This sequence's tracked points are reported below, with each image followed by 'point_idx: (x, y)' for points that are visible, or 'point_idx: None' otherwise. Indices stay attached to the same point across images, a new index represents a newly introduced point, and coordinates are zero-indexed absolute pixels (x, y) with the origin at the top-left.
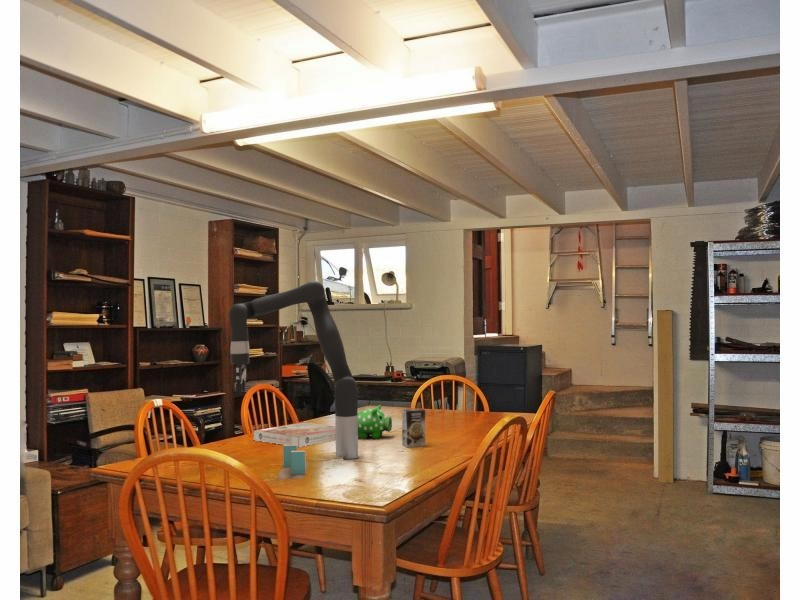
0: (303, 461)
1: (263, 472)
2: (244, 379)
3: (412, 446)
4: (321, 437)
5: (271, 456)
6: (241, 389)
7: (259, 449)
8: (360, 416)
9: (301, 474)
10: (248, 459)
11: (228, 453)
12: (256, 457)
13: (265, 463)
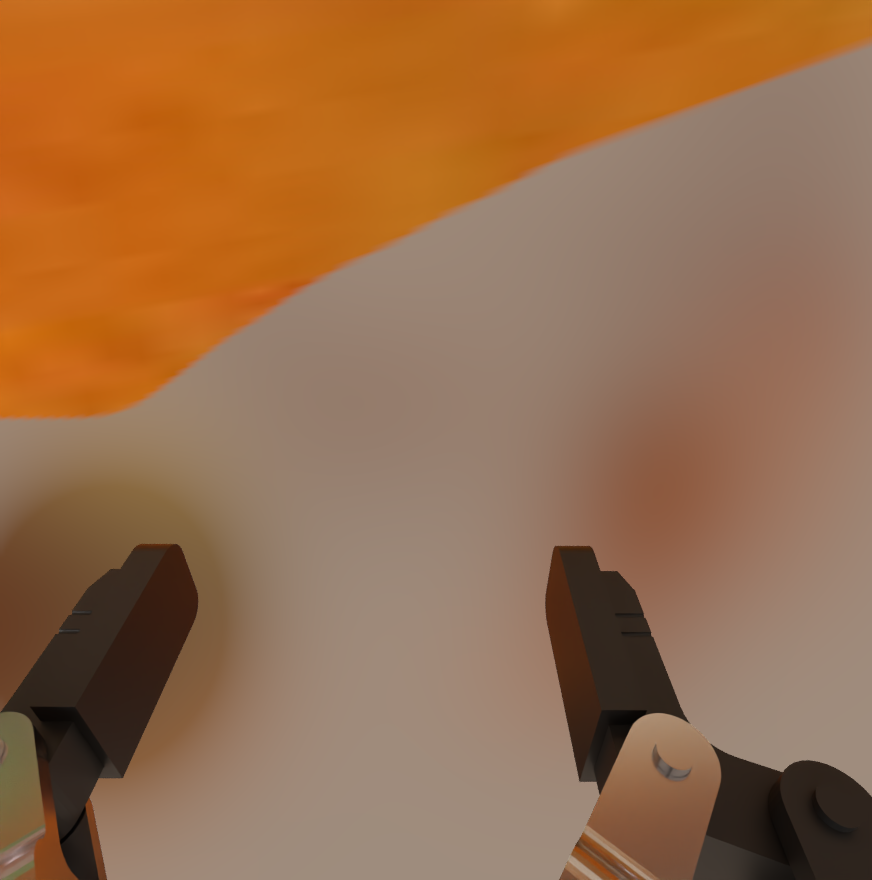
0: None
1: (829, 28)
2: (45, 792)
3: None
4: None
5: (264, 44)
6: (605, 593)
7: (12, 189)
8: None
9: None
10: (366, 215)
11: (182, 369)
12: (301, 167)
13: (521, 59)
